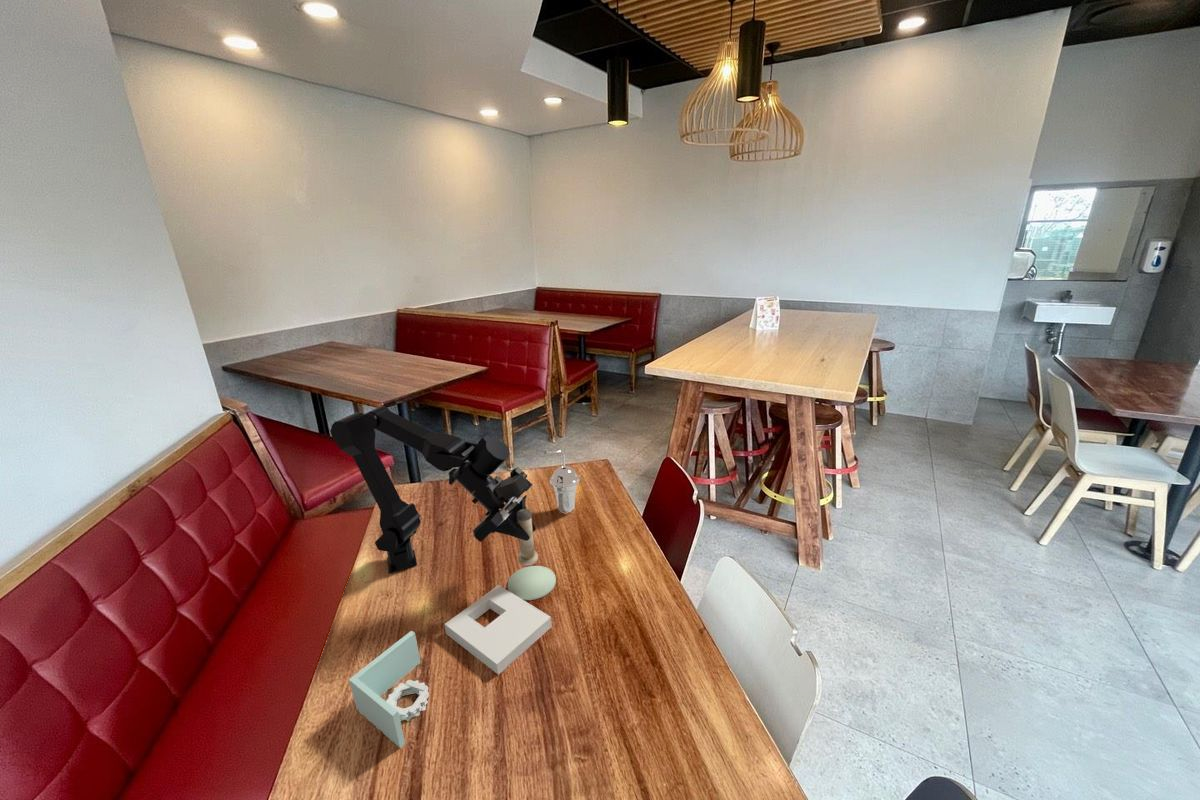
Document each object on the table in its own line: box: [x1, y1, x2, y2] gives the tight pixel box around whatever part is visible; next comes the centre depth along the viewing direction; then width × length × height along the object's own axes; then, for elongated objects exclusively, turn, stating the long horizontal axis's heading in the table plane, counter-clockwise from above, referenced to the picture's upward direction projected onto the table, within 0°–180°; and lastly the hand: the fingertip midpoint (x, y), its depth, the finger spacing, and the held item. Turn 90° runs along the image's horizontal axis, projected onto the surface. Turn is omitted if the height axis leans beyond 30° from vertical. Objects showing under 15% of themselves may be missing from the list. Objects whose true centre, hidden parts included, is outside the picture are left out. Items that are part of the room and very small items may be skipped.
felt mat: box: [507, 565, 557, 601], centre depth 109 cm, size 11×11×1 cm
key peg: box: [517, 508, 539, 567], centre depth 104 cm, size 4×4×12 cm
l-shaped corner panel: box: [348, 630, 430, 749], centre depth 81 cm, size 12×12×8 cm
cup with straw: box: [544, 450, 580, 513], centre depth 135 cm, size 8×9×20 cm
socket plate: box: [444, 584, 553, 676], centre depth 95 cm, size 16×14×2 cm
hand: (531, 535), depth 104 cm, fingers closed on key peg, 3 cm apart
